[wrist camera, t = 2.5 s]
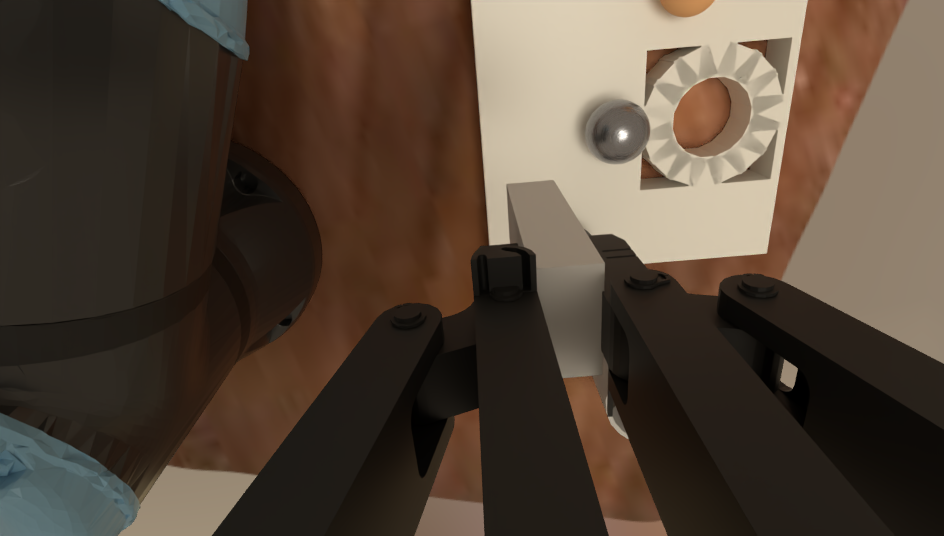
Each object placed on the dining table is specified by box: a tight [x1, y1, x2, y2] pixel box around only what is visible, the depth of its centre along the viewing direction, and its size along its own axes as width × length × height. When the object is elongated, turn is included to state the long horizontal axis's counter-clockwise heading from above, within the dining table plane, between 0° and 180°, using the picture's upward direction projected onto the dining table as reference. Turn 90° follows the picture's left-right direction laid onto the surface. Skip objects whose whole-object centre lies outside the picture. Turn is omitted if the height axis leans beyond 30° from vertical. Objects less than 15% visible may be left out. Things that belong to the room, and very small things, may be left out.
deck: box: [470, 0, 807, 264], centre depth 32 cm, size 18×18×2 cm
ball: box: [585, 99, 650, 164], centre depth 29 cm, size 4×4×4 cm
